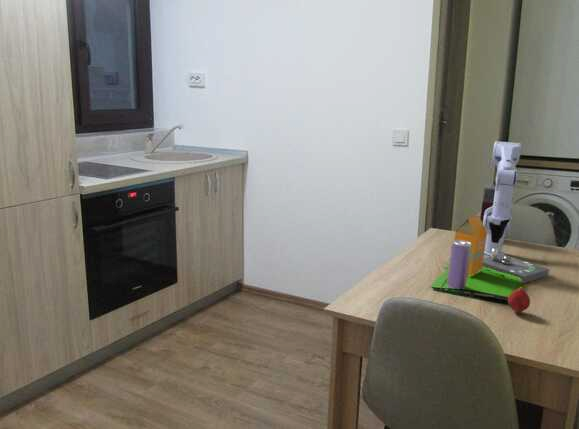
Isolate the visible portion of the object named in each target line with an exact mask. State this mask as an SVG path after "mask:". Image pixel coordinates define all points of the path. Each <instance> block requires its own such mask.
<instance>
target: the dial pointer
mask: <svg viewBox="0 0 579 429" xmlns="http://www.w3.org/2000/svg"><path fill="white" fill-rule="evenodd" d="M497 255H498V249H497V248H493V249H492V255H491V260H495V261H499V262H501V263H504V264H516V265H520V266H525V267H530V268H531V267H532V266H529V265H525V264H520V263H516V262H513V261H511V257H512V256H509V255H506V256H504V259H498V258H497Z"/></svg>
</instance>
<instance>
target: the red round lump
mask: <svg viewBox="0 0 579 429" xmlns="http://www.w3.org/2000/svg"><path fill="white" fill-rule="evenodd" d="M507 302H508V306H509V308H510V309H511V310H513V311H514V313H515V314H519V313H522V312H524V311H526V310H527V309H528V308H529V307H530V306H531V305H530V304H531V299H530V296H529V294H528V293H527V292H526V291H525V290H524V287H522V286H520V287H519V288H517V289H514V290H513V291H512V292H511V293H510V294H509V295H508V298H507Z"/></svg>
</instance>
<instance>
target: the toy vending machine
mask: <svg viewBox="0 0 579 429" xmlns="http://www.w3.org/2000/svg"><path fill="white" fill-rule="evenodd" d="M493 183H494V184H490V183H489V184H487V185H486V186H485V187H484V190H483V194H482V195H483V196H482V202H481V209H480V215H479V217H480V219H481V221H482V223H483V218H484V214H485V211H486V209H488V208H490V207H492V206H493V202H494V194H495V187H496V176H495V178H494V182H493ZM511 209H512V208H510V210H511Z"/></svg>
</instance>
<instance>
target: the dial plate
mask: <svg viewBox="0 0 579 429" xmlns="http://www.w3.org/2000/svg"><path fill="white" fill-rule="evenodd" d="M504 256H507V254H505V255H503V254H499V255H497V258H498V259H504ZM510 257H511V261H513V262H516V263H520V264H525V265H529V266H532V267H531V268H530V267H525V266H520V265H516V264H504V263H501V262H499V261H495V260H491V256H490V255H489V256H486V257H483V263H482V266H483V267H486V268H490V269H493V270H496V271H499V272H503V273H507V274H511V275H514V276H517V277H520V278H521V279H522V283H521V284H526V283H529V282H532V281H536V280H539V279H542V278H545V277H549V272H550V268H547V267H544V266H540V265H538V264H534V263H530V262H528V261H525V260H521V259H518V258H517V257H512V256H510Z"/></svg>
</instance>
